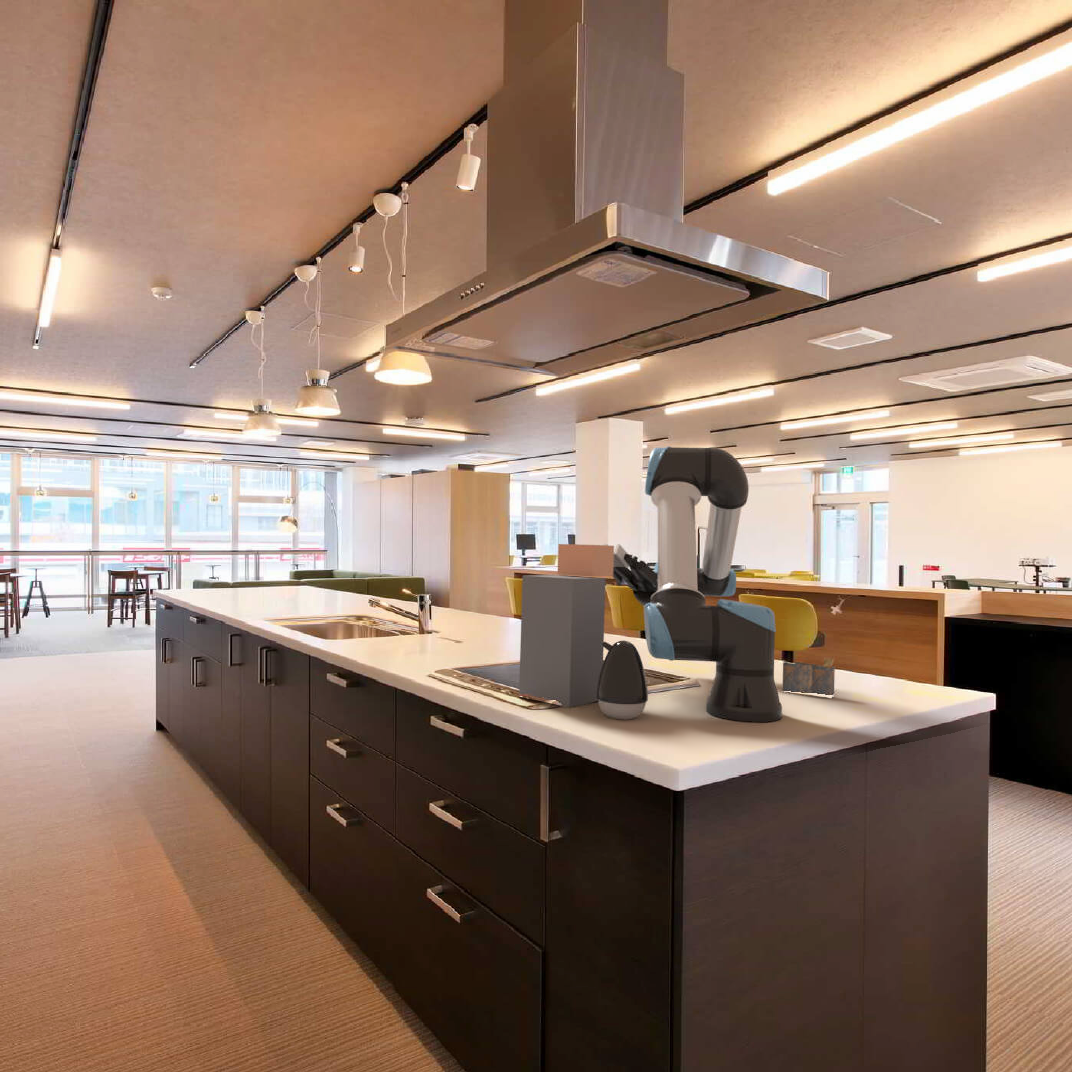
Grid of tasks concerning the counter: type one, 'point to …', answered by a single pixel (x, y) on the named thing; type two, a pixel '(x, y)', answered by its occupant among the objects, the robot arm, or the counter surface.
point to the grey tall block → (562, 637)
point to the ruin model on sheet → (809, 677)
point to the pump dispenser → (622, 682)
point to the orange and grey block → (587, 560)
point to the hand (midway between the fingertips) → (610, 549)
